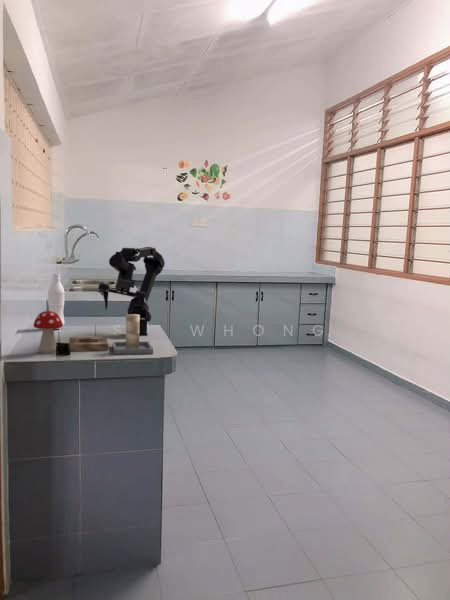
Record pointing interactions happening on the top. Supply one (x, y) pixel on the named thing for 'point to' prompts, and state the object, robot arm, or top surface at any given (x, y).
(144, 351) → the tray
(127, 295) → the robot arm
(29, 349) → the top surface
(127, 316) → the dowel
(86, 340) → the holder
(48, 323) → the decorative mushroom
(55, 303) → the water bottle
